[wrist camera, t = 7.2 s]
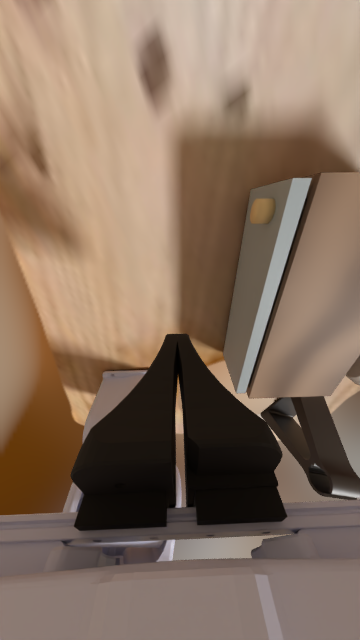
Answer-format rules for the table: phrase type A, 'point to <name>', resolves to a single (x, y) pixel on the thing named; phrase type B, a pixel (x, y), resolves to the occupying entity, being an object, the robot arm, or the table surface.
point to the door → (260, 271)
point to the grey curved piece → (355, 372)
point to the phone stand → (314, 444)
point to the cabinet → (315, 297)
